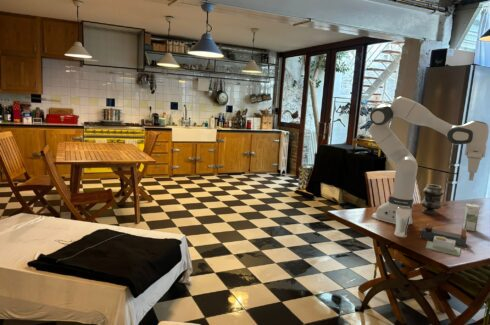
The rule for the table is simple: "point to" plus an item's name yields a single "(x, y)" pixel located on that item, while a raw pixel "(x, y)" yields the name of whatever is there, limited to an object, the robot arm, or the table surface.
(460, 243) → the plane body
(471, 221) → the syrup box
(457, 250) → the rubber mat
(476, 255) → the table surface
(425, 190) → the apothecary jar
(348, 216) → the table surface
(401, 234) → the beer glass
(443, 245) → the lever cap
